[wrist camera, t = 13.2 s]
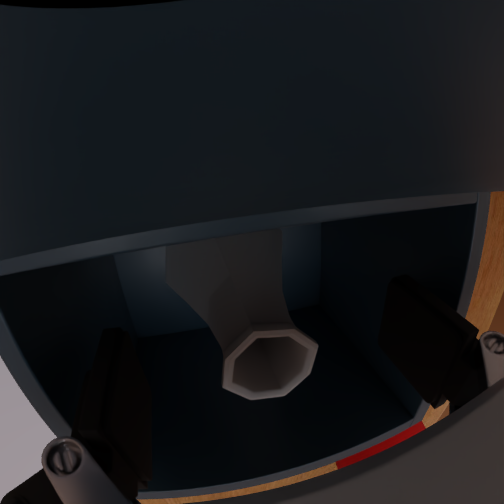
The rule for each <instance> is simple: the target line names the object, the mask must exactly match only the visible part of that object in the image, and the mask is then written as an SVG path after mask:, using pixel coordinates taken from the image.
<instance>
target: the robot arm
mask: <svg viewBox="0 0 504 504" xmlns="http://www.w3.org/2000/svg"><path fill="white" fill-rule="evenodd" d="M478 332H479V330H478V329H477V328H476V327H475V326H474V325H472V324H471V323H470V322H469V321H467V320H466V319H465V318H464V317H462V316H461V315H460V314H459V313H457V312H456V311H455V310H454V309H452V308H451V307H450V306H449V305H447V304H446V303H445V302H443V301H442V300H441V299H439V298H438V297H437V296H435V295H434V294H433V293H432V292H430V291H429V290H428V289H426V288H425V287H424V286H422V285H421V284H419V283H418V282H417V281H415V280H414V279H413V278H411V277H410V276H409V275H406V274H405V275H400V276H396V277H393V278H392V279H391V281H390V283H389V284H388V287H387V293H386V299H385V304H384V310H383V315H382V320H381V325H380V330H379V335H378V345H379V347H380V348H381V349H382V351H383V352H384V353H385V354H386V355H387V356H388V358H389V359H390V360H391V361H392V362H393V363H394V365H395V366H396V367H397V368H398V369H399V371H400V372H401V373H402V374H403V375H404V376H405V378H406V379H407V380H408V381H409V382H410V384H411V385H412V386H413V387H414V388H415V390H416V391H417V392H418V393H419V395H420V396H421V397H422V398H423V399H424V401H425V402H426V403H428V404H431V405H432V407H433V408H434V409H436V408H437V407H439V406H441V405H442V404H444V403H445V402H446V400H448V401H449V402H450V403H449V405H450V406H449V415H448V416H447V417H445V418H443V419H442V420H440V421H438V422H437V423H435V424H433V425H432V426H430V427H428V428H426V429H425V430H423V431H421V432H419V433H417V434H416V435H414V436H412V437H410V438H408V439H406V440H404V441H402V442H400V443H398V444H396V445H394V446H392V447H390V448H388V449H386V450H384V451H382V452H379V453H377V454H375V455H373V456H370V457H368V458H366V459H363V460H361V461H359V462H356V463H354V464H351V465H349V466H346V467H343V468H341V469H338V470H335V471H332V472H329V473H327V474H324V475H321V476H318V477H314V478H311V479H308V480H305V481H301V482H298V483H295V484H291V485H287V486H283V487H279V488H275V489H271V490H267V491H263V492H258V493H253V494H248V495H243V496H237V497H231V498H225V499H218V500H211V501H204V502H195V503H185V504H504V335H503V334H501V333H499V332H496V331H487V332H484V333H483V334H482V335H481V337H480V339H479V340H478V339H477V338H476V337H477V334H478ZM42 465H43V469H42V470H40V471H39V472H37V473H36V474H34V475H33V476H32V477H30V478H29V479H27V480H26V481H25V482H23V483H22V484H20V485H19V486H17V487H16V488H15V489H13V490H12V491H10V492H9V493H7V494H6V495H5V496H4V497H3V499H2V501H1V503H0V504H141V503H140V502H139V501H138V500H137V499H136V497H137V496H138V489H148V481H151V480H152V476H153V475H152V393H151V389H150V386H149V384H148V381H147V379H146V377H145V374H144V372H143V369H142V367H141V364H140V362H139V359H138V357H137V354H136V352H135V349H134V346H133V344H132V341H131V338H130V336H129V333H128V332H127V331H123V330H122V329H121V328H120V327H116V328H107V329H103V331H102V335H101V338H100V341H99V345H98V348H97V351H96V355H95V358H94V362H93V366H92V369H91V370H88V371H87V372H86V374H85V377H84V381H83V385H82V389H81V393H80V397H79V401H78V405H77V409H76V413H75V418H74V422H73V427H72V432H71V437H70V436H62V437H58V438H56V439H53V440H52V441H51V442H50V443H48V444H47V446H46V447H45V449H44V450H43V453H42Z"/></svg>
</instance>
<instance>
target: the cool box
mask: <svg viewBox="0 0 504 504" xmlns="http://www.w3.org/2000/svg"><path fill="white" fill-rule="evenodd" d="M490 194H491V192H476V193H460V194H446V195H432V196H420V197H408V198H397V199H386V200H376V201H366V202H356V203H347V204H338V205H329V206H320V207H312V208H304V209H296V210H288V211H280V212H272V213H265V214H257V215H250V216H243V217H236V218H229V219H222V220H215V221H209V222H202V223H196V224H189V225H183V226H177V227H171V228H164V229H158V230H153V231H147V232H141V233H135V234H129V235H124V236H118V237H113V238H107V239H102V240H97V241H91V242H86V243H81V244H76V245H71V246H66V247H61V248H56V249H51V250H46V251H42V252H37V253H32V254H28V255H23V256H18V257H14V258H9V259H5V260H1V261H0V356H1V358H2V359H3V361H4V363H5V364H6V366H7V368H8V370H9V371H10V373H11V375H12V376H13V378H14V379H15V381H16V383H17V384H18V386H19V387H20V389H21V390H22V392H23V393H24V394H25V396H26V397H27V399H28V400H29V402H30V403H31V404H32V406H33V407H34V409H35V410H36V411H37V413H38V414H39V415H40V417H41V418H42V419H43V420H44V422H45V423H46V424H47V425H48V426H49V428H50V429H51V430H52V432H53V433H54V434H55V435H56V436H57V438H58V437H62V436H70V437H71V432H72V427H73V422H74V418H75V413H76V409H77V405H78V401H79V397H80V393H81V389H82V385H83V381H84V377H85V374H86V372H87V371H88V370H91V369H92V366H93V362H94V358H95V355H96V351H97V348H98V345H99V341H100V338H101V335H102V331H103V329H107V328H116V327H120V328H121V329H122V330H123V331H127V332H128V333H129V336H130V338H131V341H132V344H133V346H134V349H135V352H136V354H137V357H138V359H139V362H140V364H141V367H142V369H143V372H144V374H145V377H146V379H147V381H148V384H149V386H150V389H151V393H152V475H153V476H152V480H151V481H148V489H138V496H137V497H136V498H137V499H163V498H178V497H189V496H198V495H206V494H213V493H220V492H226V491H231V490H237V489H242V488H247V487H252V486H256V485H261V484H265V483H269V482H273V481H277V480H280V479H284V478H288V477H291V476H295V475H298V474H301V473H304V472H308V471H311V470H314V469H317V468H320V467H322V466H325V465H328V464H331V463H333V462H336V461H339V460H341V459H344V458H346V457H349V456H351V455H354V454H356V453H358V452H361V451H363V450H365V449H368V448H370V447H372V446H374V445H376V444H379V443H381V442H383V441H385V440H387V439H389V438H391V437H393V436H395V435H397V434H399V433H401V432H403V431H404V430H406V429H408V428H409V427H411V426H413V425H415V424H417V423H419V422H420V421H422V419H423V417H424V416H425V414H426V412H427V410H428V408H429V406H430V404H428V403H426V402H425V401H424V399H423V398H422V397H421V396H420V395H419V393H418V392H417V391H416V390H415V388H414V387H413V386H412V385H411V384H410V382H409V381H408V380H407V379H406V378H405V376H404V375H403V374H402V373H401V372H400V371H399V369H398V368H397V367H396V366H395V365H394V363H393V362H392V361H391V360H390V359H389V358H388V356H387V355H386V354H385V353H384V352H383V351H382V349H381V348H380V347H379V345H378V335H379V330H380V325H381V320H382V315H383V310H384V304H385V299H386V293H387V287H388V284H389V283H390V281H391V279H392V278H393V277H396V276H400V275H405V274H406V275H409V276H410V277H411V278H413V279H414V280H415V281H417V282H418V283H419V284H421V285H422V286H424V287H425V288H426V289H428V290H429V291H430V292H432V293H433V294H434V295H435V296H437V297H438V298H439V299H441V300H442V301H443V302H445V303H446V304H447V305H449V306H450V307H451V308H452V309H454V310H455V311H456V312H457V313H459V314H460V315H461V316H462V317H464V318H465V317H466V314H467V311H468V307H469V304H470V301H471V297H472V293H473V290H474V286H475V282H476V278H477V274H478V269H479V265H480V260H481V255H482V250H483V245H484V239H485V233H486V227H487V220H488V212H489V204H490ZM273 229H280V230H281V231H282V238H283V239H282V292H283V295H284V299H285V302H286V306H287V309H288V313H289V316H290V318H291V320H292V321H293V323H294V325H295V326H296V327H297V328H298V329H300V330H301V331H302V332H304V333H305V334H307V335H308V336H310V337H311V338H312V339H314V340H315V341H316V342H317V344H318V345H319V346H318V350H317V353H316V356H315V360H314V363H313V366H312V370H311V373H310V374H309V375H308V376H307V377H306V378H305V379H304V380H303V381H302V382H300V383H299V384H298V385H297V386H296V387H295V388H294V389H292V390H291V391H290V392H289V393H288V394H287V395H285V396H281V397H273V398H265V399H256V400H249V399H247V398H245V397H242V396H240V395H238V394H235V393H233V392H231V391H229V390H226V389H224V388H223V387H222V384H221V381H222V367H223V352H222V349H221V346H220V344H219V343H218V341H217V339H216V338H215V336H214V334H213V332H212V331H211V329H210V327H209V325H208V324H207V323H206V322H205V321H204V320H203V319H202V318H201V317H200V316H199V315H198V314H197V313H196V312H195V311H194V309H193V308H192V307H191V306H190V305H189V304H188V303H187V302H186V301H185V300H184V299H183V298H181V297H180V296H179V295H178V294H177V293H176V292H175V291H174V290H173V289H172V288H171V287H170V286H169V285H168V284H167V283H166V246H170V245H176V244H182V243H189V242H195V241H201V240H207V239H214V238H220V237H227V236H233V235H240V234H246V233H253V232H259V231H266V230H273Z"/></svg>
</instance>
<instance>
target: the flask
mask: <svg viewBox="0 0 504 504" xmlns="http://www.w3.org/2000/svg"><path fill="white" fill-rule="evenodd" d="M282 239H283V238H282V231H281V230H280V229H273V230H266V231H259V232H253V233H246V234H240V235H233V236H227V237H220V238H214V239H207V240H201V241H195V242H189V243H182V244H176V245H170V246H166V283H167V284H168V285H169V286H170V287H171V288H172V289H173V290H174V291H175V292H176V293H177V294H178V295H179V296H180V297H181V298H183V299H184V300H185V301H186V302H187V303H188V304H189V305H190V306H191V307H192V308H193V309H194V311H195V312H196V313H197V314H198V315H199V316H200V317H201V318H202V319H203V320H204V321H205V322H206V323H207V324H208V325H209V327H210V329H211V331H212V332H213V334H214V336H215V338H216V339H217V341H218V343H219V344H220V346H221V349H222V352H223V367H222V381H221V384H222V387H223V388H224V389H226V390H229V391H231V392H233V393H235V394H238V395H240V396H242V397H245V398H247V399H249V400H256V399H265V398H273V397H281V396H285V395H287V394H288V393H289V392H290V391H291V390H292V389H294V388H295V387H296V386H297V385H298V384H299V383H300V382H302V381H303V380H304V379H305V378H306V377H307V376H308V375H309V374H310V373H311V370H312V366H313V363H314V360H315V356H316V353H317V350H318V346H319V345H318V344H317V342H316V341H315V340H314V339H312V338H311V337H310V336H308V335H307V334H305V333H304V332H302V331H301V330H300V329H298V328H297V327H296V326H295V325H294V323H293V321H292V320H291V318H290V316H289V313H288V309H287V306H286V302H285V299H284V295H283V292H282Z"/></svg>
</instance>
